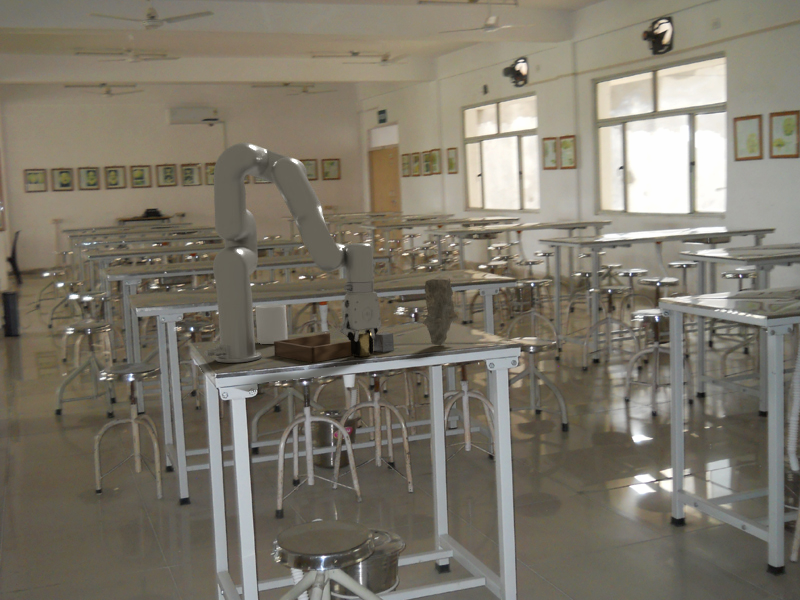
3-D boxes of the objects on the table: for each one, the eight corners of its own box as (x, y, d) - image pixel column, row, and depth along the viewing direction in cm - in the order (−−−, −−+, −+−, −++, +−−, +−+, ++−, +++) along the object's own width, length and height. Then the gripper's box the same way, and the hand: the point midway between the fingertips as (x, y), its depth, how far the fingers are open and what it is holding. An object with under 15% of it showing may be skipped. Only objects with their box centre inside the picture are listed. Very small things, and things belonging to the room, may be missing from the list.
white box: (259, 346, 251) (257, 308, 249) (254, 340, 262) (252, 304, 261) (290, 343, 254) (288, 306, 252) (283, 338, 265) (281, 302, 264)
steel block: (383, 352, 231) (382, 335, 230) (374, 351, 234) (373, 333, 233) (393, 350, 233) (393, 333, 233) (384, 349, 236) (384, 332, 236)
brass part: (361, 356, 223) (360, 335, 223) (352, 355, 226) (351, 333, 226) (372, 354, 226) (372, 333, 225) (363, 353, 229) (362, 332, 228)
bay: (312, 362, 219) (311, 347, 218) (274, 355, 233) (274, 341, 232) (367, 352, 231) (366, 338, 231) (328, 346, 245) (327, 332, 245)
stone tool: (427, 348, 233) (425, 279, 231) (418, 346, 238) (415, 278, 236) (463, 344, 239) (461, 276, 237) (453, 341, 244) (451, 275, 242)
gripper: (344, 291, 216) (346, 359, 218) (392, 286, 227) (394, 351, 229) (327, 289, 221) (330, 356, 223) (375, 285, 232) (377, 348, 234)
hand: (362, 353), depth 226 cm, fingers closed on brass part, 4 cm apart
